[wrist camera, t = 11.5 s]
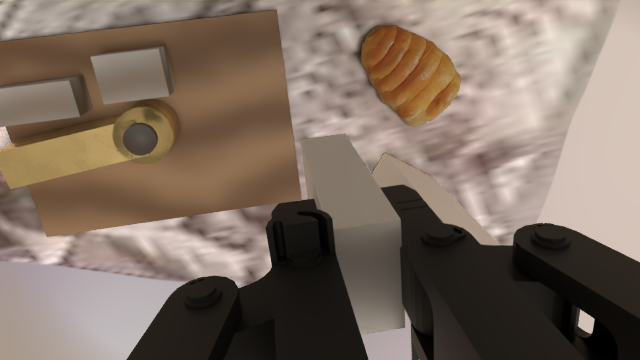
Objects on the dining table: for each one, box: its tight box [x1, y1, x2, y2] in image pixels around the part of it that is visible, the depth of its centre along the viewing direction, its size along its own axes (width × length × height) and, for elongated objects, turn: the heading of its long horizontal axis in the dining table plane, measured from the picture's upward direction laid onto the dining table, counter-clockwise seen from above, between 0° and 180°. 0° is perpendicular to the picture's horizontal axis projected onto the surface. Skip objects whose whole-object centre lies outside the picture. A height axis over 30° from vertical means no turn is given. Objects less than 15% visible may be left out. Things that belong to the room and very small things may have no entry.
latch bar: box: [0, 99, 180, 189], centre depth 37 cm, size 13×4×4 cm, turn 103°
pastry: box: [361, 25, 461, 127], centre depth 40 cm, size 9×7×4 cm
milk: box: [371, 153, 500, 322], centre depth 35 cm, size 6×6×22 cm
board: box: [0, 10, 301, 237], centre depth 38 cm, size 17×24×6 cm
